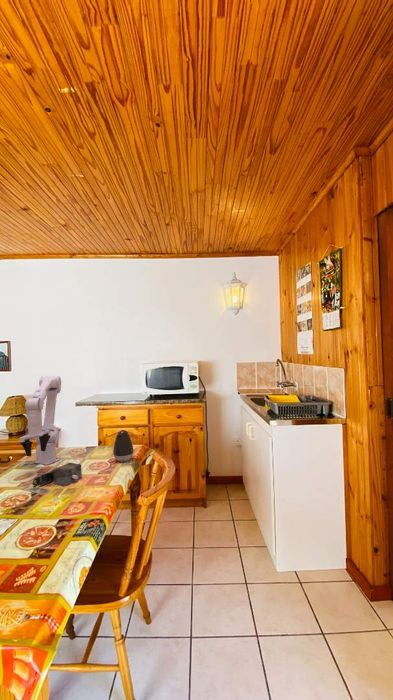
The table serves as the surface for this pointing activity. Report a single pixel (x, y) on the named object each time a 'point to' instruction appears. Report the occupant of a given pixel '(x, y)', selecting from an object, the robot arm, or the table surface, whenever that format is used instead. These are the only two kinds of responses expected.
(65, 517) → the table surface
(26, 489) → the gauge frame
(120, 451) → the black egg-shaped speaker
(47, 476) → the gauge plunger
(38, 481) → the electric trimmer
